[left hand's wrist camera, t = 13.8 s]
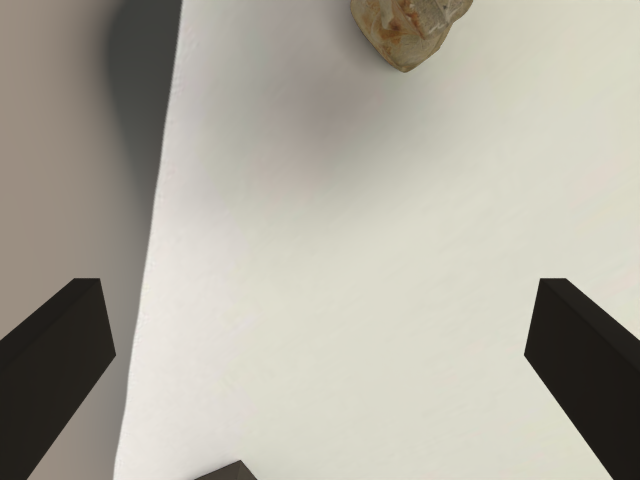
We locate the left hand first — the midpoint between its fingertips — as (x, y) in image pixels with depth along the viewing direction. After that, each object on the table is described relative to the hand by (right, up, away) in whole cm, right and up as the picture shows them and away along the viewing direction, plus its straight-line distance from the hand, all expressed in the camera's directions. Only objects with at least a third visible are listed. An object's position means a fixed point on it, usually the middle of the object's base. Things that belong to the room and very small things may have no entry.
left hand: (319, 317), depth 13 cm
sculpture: (+6, +20, +22) cm, 31 cm away
